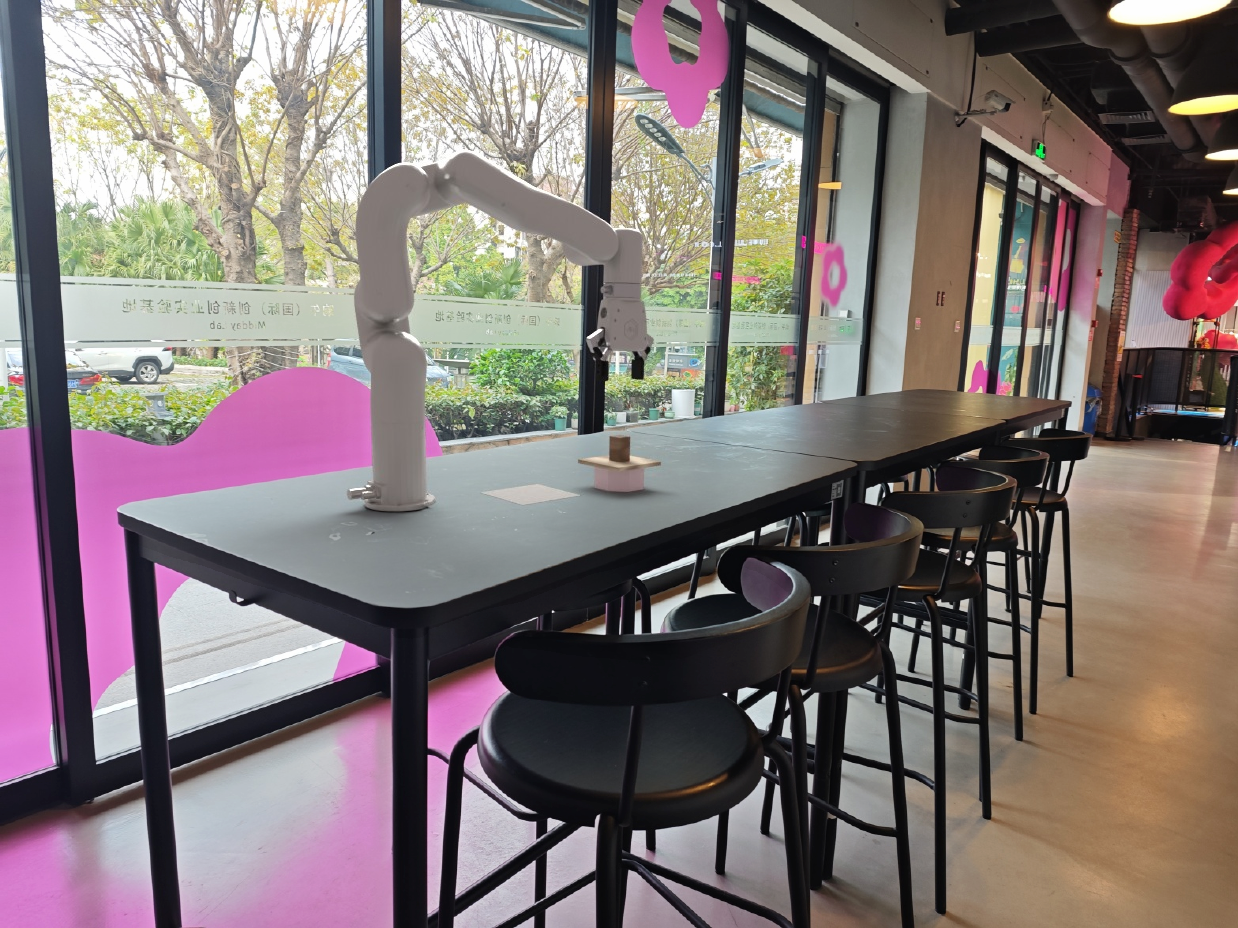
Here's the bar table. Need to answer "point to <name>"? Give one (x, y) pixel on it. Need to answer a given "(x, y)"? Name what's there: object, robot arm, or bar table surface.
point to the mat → (530, 494)
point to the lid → (619, 457)
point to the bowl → (619, 480)
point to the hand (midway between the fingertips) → (620, 380)
